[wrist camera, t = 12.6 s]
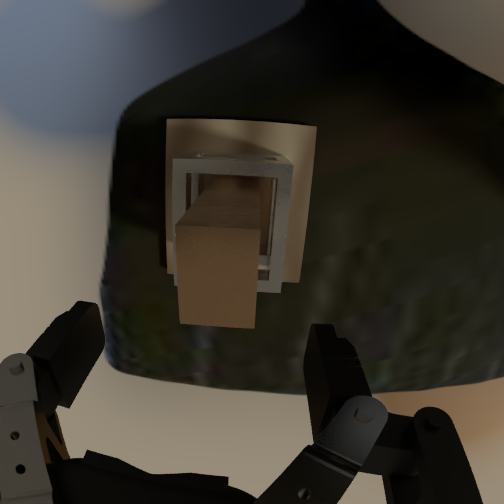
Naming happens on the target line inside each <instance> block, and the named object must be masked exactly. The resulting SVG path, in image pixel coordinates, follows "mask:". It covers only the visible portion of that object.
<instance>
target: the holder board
mask: <svg viewBox="0 0 504 504" xmlns="http://www.w3.org/2000/svg"><path fill="white" fill-rule="evenodd" d="M316 129H317V127H314V126H306V125H296V124H286V123H274V122H261V121H245V120H222V119H167V133H166V183H165V196H166V247H167V270H168V274H174V263H173V225H172V172H173V158H176V157H178V156H181V155H184V154H186V153H189V152H192V151H222V152H242V153H258V154H272V155H284V156H285V157H286V158H287V159H288V160H289V161H290V162H291V163H292V164H293V165H294V167H293V178H292V189H291V200H290V210H289V220H288V229H287V239H286V248H285V257H284V266H283V275H282V282H297V283H299V279H300V272H301V265H302V257H303V250H304V242H305V234H306V226H307V218H308V209H309V200H310V191H311V182H312V172H313V162H314V151H315V140H316ZM217 175H220V176H244V177H259V186H260V220H261V234H260V244H266V242H267V230H268V218H269V206H270V194H271V181H272V177H260V176H245V175H227V174H205V173H204V190H205V188H206V187H207V186H208V185H209V184H210V183H211V181H212V180H213V179H214V178H215V177H216V176H217ZM204 190H203V191H204ZM258 269H263V270H266V266H261V265H258Z"/></svg>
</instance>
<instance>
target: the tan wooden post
mask: <svg viewBox="0 0 504 504" xmlns="http://www.w3.org/2000/svg"><path fill="white" fill-rule="evenodd" d="M260 234H261V220H260V186H259V177H244V176H220V175H217V176H216V177H215V178H214V179H213V180H212V181H211V183H210V184H209V185H208V186H207V187H206V188H205V190H204V191H203V192H202V193H201V194H200V196H199V197H198V198H197V199H196V200H195V202H194V203H193V204H192V205H191V206H190V208H189V209H188V210H187V211H186V212H185V214H184V215H183V216H182V217H181V218H180V220H179V221H178V222H177V223H176V225H175V241H176V265H177V284H178V300H179V315H180V323H183V324H194V325H207V326H221V327H236V328H254V325H255V310H256V295H257V280H258V265H259V249H260Z"/></svg>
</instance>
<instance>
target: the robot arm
mask: <svg viewBox="0 0 504 504" xmlns="http://www.w3.org/2000/svg"><path fill="white" fill-rule="evenodd" d="M104 345H105V335H104V330H103V325H102V321H101V316H100V311H99V307H98V305H97V304H96V303H92V302H85V301H77V302H76V303H75V305H74V306H73V307H72V308H71V309H70V310H69V311H66V312H65V313H63V314H61V315H59V316H58V317H57V318H55V319H54V321H53V322H52V323H51V324H50V327H47V329H46V330H45V331H44V333H42V334H41V336H40V337H39V338H38V339H37V340H36V342H35V343H34V344H33V345H32V346H31V348H30V349H29V350H28V351H27V352H26V354H22V353H17V354H13V355H10V356H8V357H7V358H5V359H4V360H3V361H2V363H1V364H0V504H337V503H338V501H339V500H340V499H341V497H342V496H343V494H344V493H345V491H346V490H347V488H348V487H349V485H350V484H351V482H352V481H353V479H354V478H355V476H356V475H357V473H358V472H364V473H370V474H376V475H382V478H383V484H384V490H385V495H386V501H387V504H483V502H482V499H481V496H480V493H479V490H478V487H477V484H476V481H475V478H474V475H473V472H472V470H471V467H470V464H469V461H468V459H467V456H466V454H465V451H464V448H463V446H462V444H461V441H460V438H459V436H458V434H457V431H456V429H455V426H454V424H453V421H452V419H451V418H450V417H449V415H448V414H447V413H446V412H444V411H443V410H441V409H439V408H436V407H424V408H422V409H420V410H418V411H417V412H416V414H415V415H414V417H409V416H403V415H397V414H392V413H389V412H387V409H386V407H385V406H384V405H383V403H381V402H380V401H379V400H377V399H375V398H373V397H372V395H371V392H370V389H369V386H368V383H367V380H366V378H365V375H364V372H363V369H362V367H361V364H360V361H359V359H358V355H357V353H356V350H355V347H354V346H353V345H352V344H351V343H350V342H349V341H348V340H347V339H346V338H337V335H336V332H335V329H334V326H333V325H332V324H312V325H311V327H310V331H309V336H308V341H307V346H306V351H305V356H304V365H303V369H304V378H305V385H306V391H307V398H308V405H309V412H310V420H311V426H312V434H313V442H314V444H313V445H308V446H306V447H305V448H304V449H303V450H302V451H301V453H300V454H299V455H298V456H297V457H296V458H295V460H293V462H292V463H291V464H290V465H289V466H288V467H287V468H286V469H285V470H284V472H283V473H282V474H281V475H280V476H279V477H278V478H277V479H276V480H275V481H274V482H273V483H272V484H271V485H270V486H269V488H267V489H266V491H265V492H263V494H261V495H260V497H259V498H255V497H254V496H252V495H250V494H248V493H246V492H245V491H242V490H240V489H237V488H234V487H231V486H228V477H225V476H213V475H205V474H197V473H178V474H150V473H147V472H145V471H143V470H141V469H138V468H136V467H134V466H132V465H130V464H128V463H126V462H124V461H122V460H120V459H118V458H114V457H111V456H107V455H103V454H100V453H97V452H93V451H90V450H87V451H86V453H85V456H84V458H72V459H71V458H70V456H69V454H68V452H67V448H66V445H65V442H64V438H63V434H62V431H61V427H60V423H59V419H58V415H57V413H56V411H55V410H56V408H57V406H58V405H59V406H63V407H66V408H70V406H71V405H72V403H73V401H74V399H75V397H76V396H77V394H78V392H79V390H80V389H81V387H82V385H83V383H84V382H85V380H86V378H87V376H88V374H89V373H90V371H91V370H92V368H93V366H94V364H95V363H96V361H97V359H98V358H99V356H100V354H101V353H102V351H103V349H104Z"/></svg>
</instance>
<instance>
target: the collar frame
mask: <svg viewBox="0 0 504 504" xmlns="http://www.w3.org/2000/svg"><path fill="white" fill-rule="evenodd" d="M293 167H294V165H293V164H292V163H291V162H290V161H289V160H288V159H287V158H286V157H285V156H284V155H272V154H258V153H242V152H222V151H192V152H189V153H186V154H184V155H181V156H178V157H176V158H173V172H172V225H173V263H174V285H176V286H178V284H177V265H176V241H175V225H176V223H177V222H178V221H179V220H180V218H181V217H182V216H183V215H184V214H185V212H186V211H187V210H188V209H189V208H190V206H191V205H192V204H193V203H194V202H195V200H196V199H197V198H198V197H199V196H200V194H201V193H202V192H203V190H204V173H205V174H227V175H245V176H260V177H272V181H271V194H270V206H269V218H268V230H267V242H266V244H260V249H259V265H261V266H266V270H263V269H258V280H257V292H273V293H280V292H281V283H282V275H283V266H284V257H285V248H286V239H287V229H288V220H289V210H290V200H291V189H292V178H293Z"/></svg>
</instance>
